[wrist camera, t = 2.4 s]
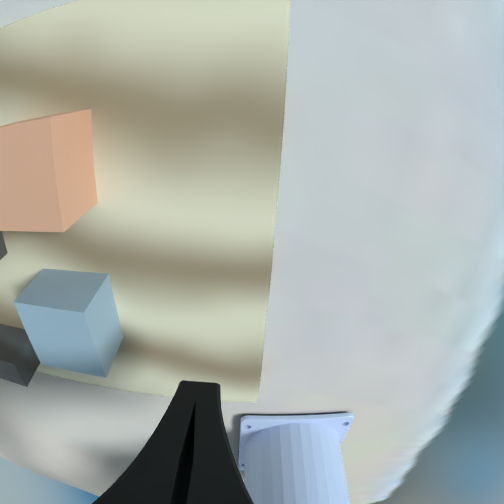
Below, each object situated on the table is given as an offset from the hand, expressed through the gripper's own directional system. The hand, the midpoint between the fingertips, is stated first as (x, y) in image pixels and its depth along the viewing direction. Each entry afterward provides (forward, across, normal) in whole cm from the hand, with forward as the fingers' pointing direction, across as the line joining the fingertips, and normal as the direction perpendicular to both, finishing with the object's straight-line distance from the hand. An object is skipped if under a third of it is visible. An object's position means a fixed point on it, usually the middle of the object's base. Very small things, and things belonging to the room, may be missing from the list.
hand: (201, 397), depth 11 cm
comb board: (+6, +8, -4) cm, 11 cm away
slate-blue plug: (+5, +7, 0) cm, 9 cm away
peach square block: (+5, +7, -7) cm, 11 cm away
